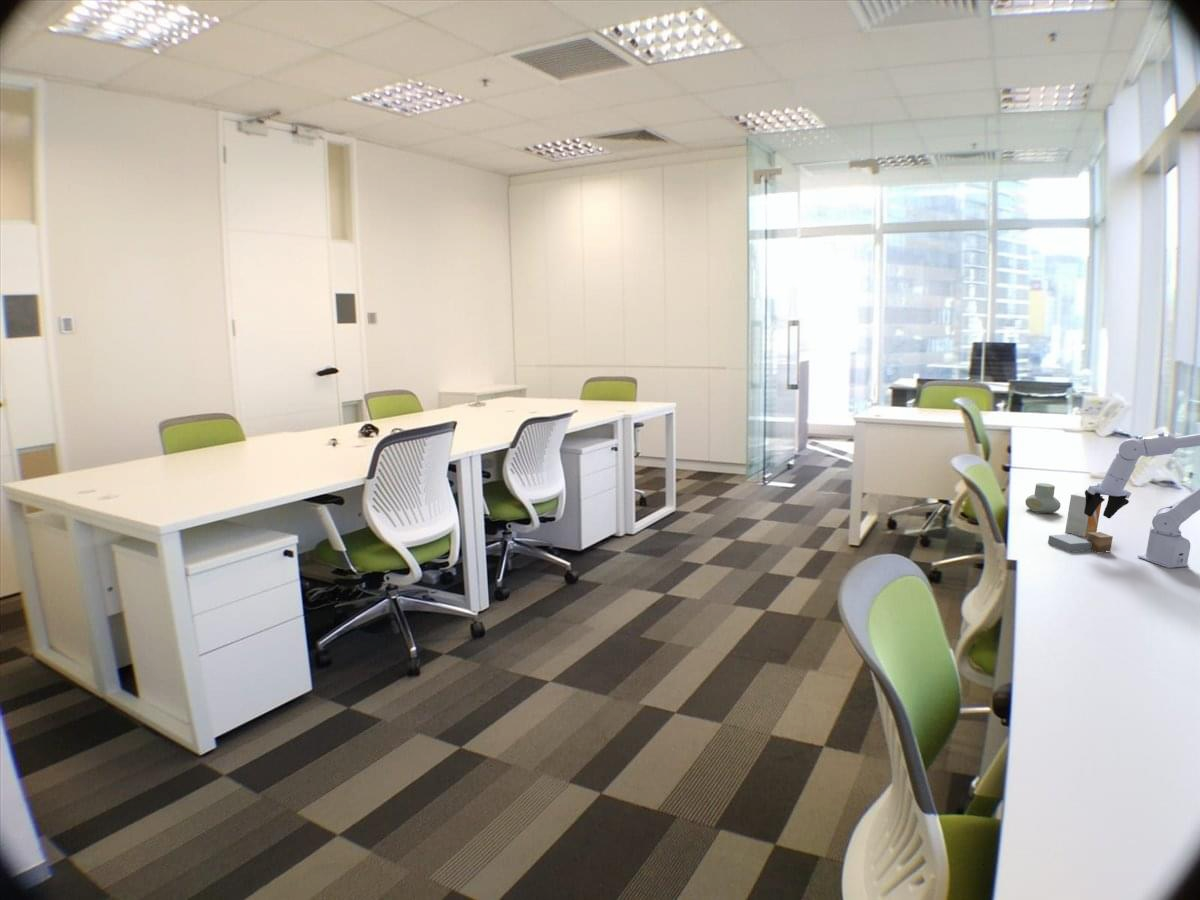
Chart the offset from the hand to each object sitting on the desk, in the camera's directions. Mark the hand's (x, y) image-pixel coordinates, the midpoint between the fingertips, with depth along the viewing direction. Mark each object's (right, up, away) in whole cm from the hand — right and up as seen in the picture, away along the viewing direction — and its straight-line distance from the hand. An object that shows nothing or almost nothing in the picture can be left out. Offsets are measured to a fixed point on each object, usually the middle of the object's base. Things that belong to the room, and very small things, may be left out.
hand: (1096, 515), depth 224 cm
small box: (+6, -7, +16) cm, 19 cm away
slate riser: (-7, -10, +2) cm, 13 cm away
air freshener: (+8, -2, +41) cm, 42 cm away
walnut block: (0, -10, 0) cm, 10 cm away
